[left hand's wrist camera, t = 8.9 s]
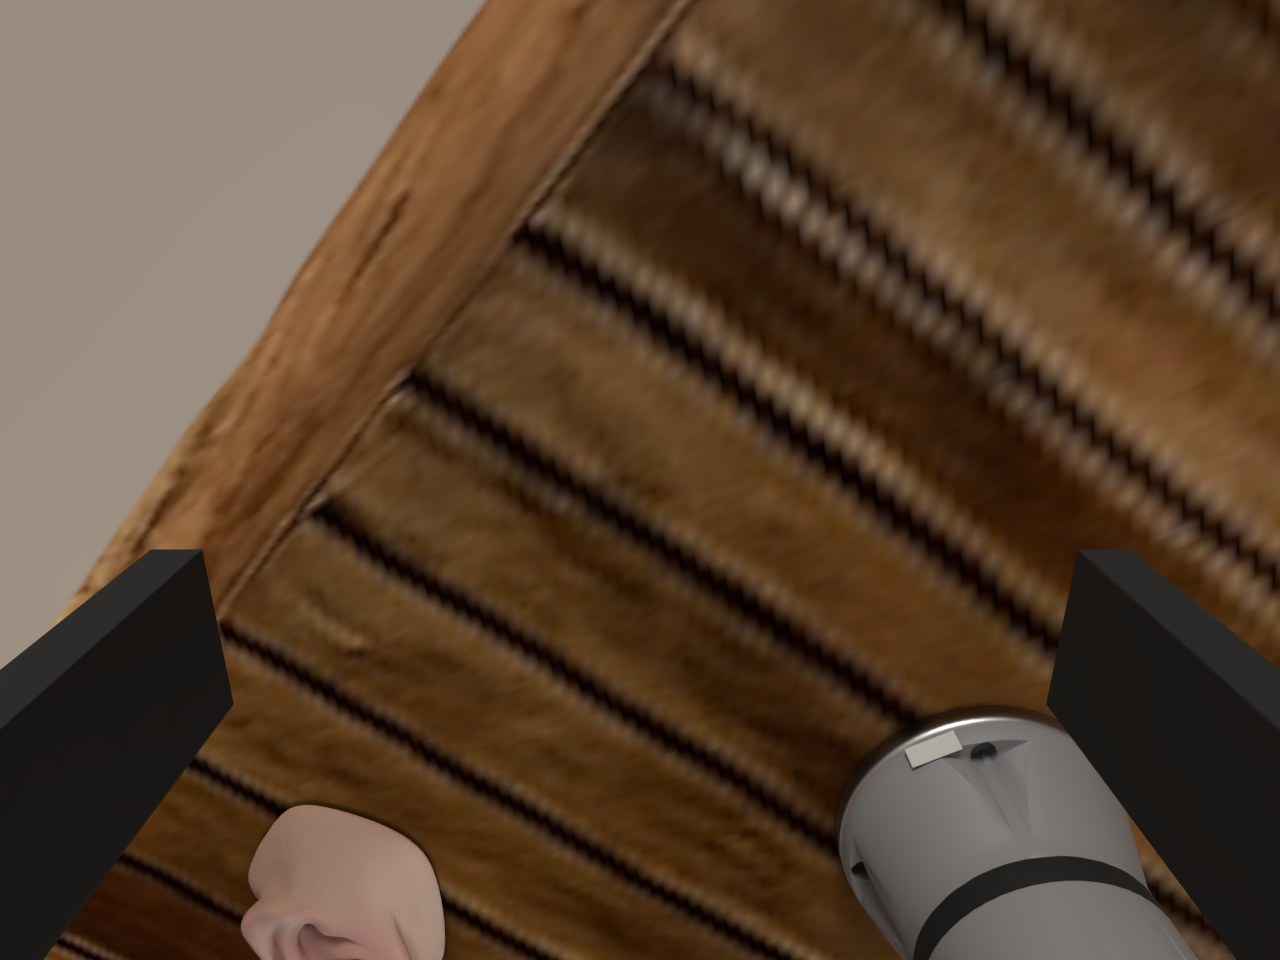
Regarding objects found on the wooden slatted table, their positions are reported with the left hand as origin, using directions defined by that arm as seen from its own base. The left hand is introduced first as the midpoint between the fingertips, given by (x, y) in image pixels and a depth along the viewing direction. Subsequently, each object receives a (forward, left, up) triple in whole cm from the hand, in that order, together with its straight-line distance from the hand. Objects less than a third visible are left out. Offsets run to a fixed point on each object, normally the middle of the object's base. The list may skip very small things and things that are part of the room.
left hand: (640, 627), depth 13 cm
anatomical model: (-5, +37, -26) cm, 46 cm away
